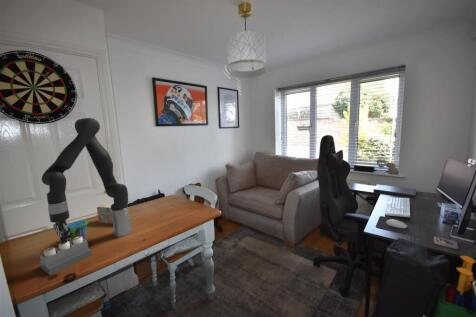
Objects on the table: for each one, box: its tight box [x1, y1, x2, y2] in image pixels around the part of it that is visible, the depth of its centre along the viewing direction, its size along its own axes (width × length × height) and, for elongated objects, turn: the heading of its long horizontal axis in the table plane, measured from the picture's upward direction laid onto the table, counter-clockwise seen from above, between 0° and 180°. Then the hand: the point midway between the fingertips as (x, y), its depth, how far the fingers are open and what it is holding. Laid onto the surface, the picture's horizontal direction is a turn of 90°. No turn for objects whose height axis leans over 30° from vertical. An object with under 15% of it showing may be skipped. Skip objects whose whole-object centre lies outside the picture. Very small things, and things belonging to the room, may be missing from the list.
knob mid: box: [58, 240, 70, 251], centre depth 109 cm, size 4×4×6 cm
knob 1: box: [43, 247, 56, 258], centre depth 104 cm, size 4×4×6 cm
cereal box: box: [96, 203, 113, 225], centre depth 155 cm, size 21×6×12 cm, turn 75°
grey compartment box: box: [38, 238, 93, 276], centre depth 109 cm, size 18×12×8 cm, turn 150°
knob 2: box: [73, 236, 83, 245], centre depth 114 cm, size 4×4×6 cm
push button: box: [66, 232, 72, 243], centre depth 120 cm, size 7×5×10 cm
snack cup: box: [67, 220, 88, 242], centre depth 131 cm, size 16×10×10 cm
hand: (63, 242), depth 108 cm, fingers closed
